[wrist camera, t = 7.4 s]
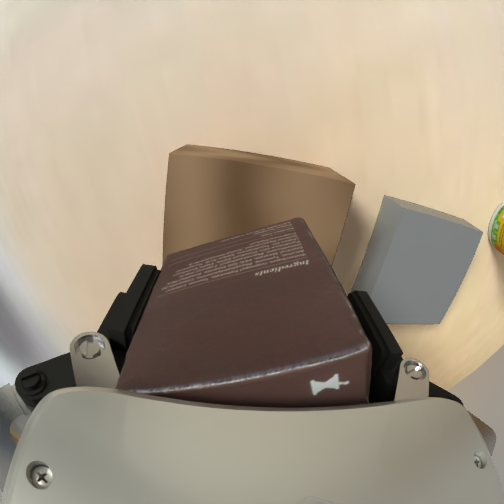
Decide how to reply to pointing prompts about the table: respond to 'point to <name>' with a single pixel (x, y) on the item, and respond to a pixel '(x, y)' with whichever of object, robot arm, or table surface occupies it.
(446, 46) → the table surface
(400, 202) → the block
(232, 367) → the box
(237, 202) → the walnut stand
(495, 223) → the supplement bottle
